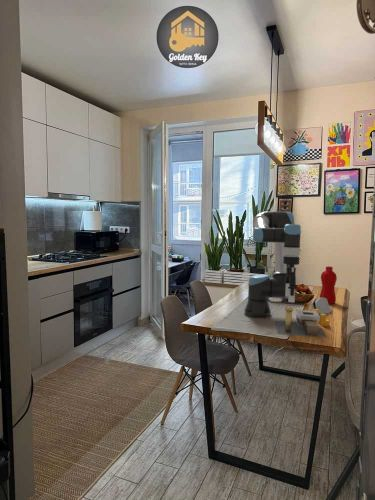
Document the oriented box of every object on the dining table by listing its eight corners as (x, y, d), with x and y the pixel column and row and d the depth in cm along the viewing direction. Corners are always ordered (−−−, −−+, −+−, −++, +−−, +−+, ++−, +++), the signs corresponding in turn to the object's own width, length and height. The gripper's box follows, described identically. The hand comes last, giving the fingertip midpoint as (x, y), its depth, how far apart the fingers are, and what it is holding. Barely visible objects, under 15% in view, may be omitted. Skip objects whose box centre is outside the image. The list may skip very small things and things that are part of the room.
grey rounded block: (321, 316, 203) (316, 299, 204) (314, 317, 206) (309, 300, 207) (332, 311, 215) (328, 295, 216) (325, 312, 218) (320, 296, 219)
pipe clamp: (328, 327, 182) (329, 315, 182) (320, 326, 182) (321, 314, 182) (319, 320, 194) (320, 309, 194) (312, 320, 194) (312, 309, 194)
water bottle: (329, 300, 243) (331, 265, 241) (337, 304, 232) (339, 267, 230) (316, 300, 243) (318, 265, 240) (323, 304, 232) (325, 267, 229)
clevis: (301, 334, 167) (302, 320, 166) (295, 322, 187) (296, 309, 186) (323, 336, 165) (324, 322, 165) (315, 323, 185) (315, 311, 185)
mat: (278, 334, 168) (278, 334, 168) (274, 321, 190) (274, 320, 190) (326, 338, 164) (326, 337, 164) (316, 324, 187) (316, 323, 187)
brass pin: (284, 332, 170) (285, 308, 169) (283, 330, 173) (284, 306, 172) (292, 333, 169) (293, 309, 168) (291, 330, 173) (292, 307, 172)
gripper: (303, 258, 155) (301, 305, 157) (295, 254, 179) (294, 294, 181) (286, 258, 156) (284, 304, 158) (281, 253, 181) (279, 293, 182)
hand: (289, 299), depth 169 cm, fingers open, 13 cm apart
